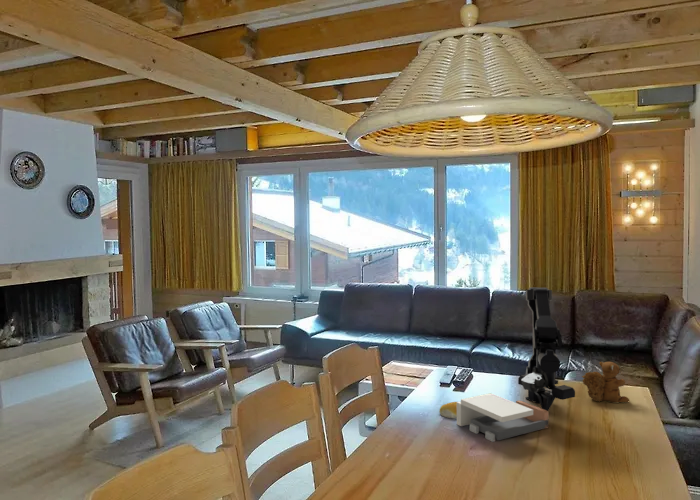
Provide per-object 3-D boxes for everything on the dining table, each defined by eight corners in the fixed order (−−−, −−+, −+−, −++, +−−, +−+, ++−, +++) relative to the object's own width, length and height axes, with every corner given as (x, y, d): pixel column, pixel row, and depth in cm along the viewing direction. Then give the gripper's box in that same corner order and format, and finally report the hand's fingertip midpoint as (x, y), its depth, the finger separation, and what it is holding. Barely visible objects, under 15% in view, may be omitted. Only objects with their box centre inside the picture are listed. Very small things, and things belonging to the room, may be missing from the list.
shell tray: (519, 415, 186) (519, 400, 186) (548, 427, 176) (548, 411, 175) (470, 426, 177) (470, 410, 176) (498, 440, 166) (498, 423, 166)
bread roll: (471, 413, 190) (471, 401, 190) (456, 420, 184) (456, 408, 184) (450, 408, 196) (450, 396, 196) (434, 414, 189) (435, 402, 189)
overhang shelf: (486, 417, 186) (486, 391, 185) (533, 438, 168) (533, 409, 168) (456, 424, 180) (456, 397, 180) (502, 446, 163) (502, 417, 162)
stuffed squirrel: (631, 402, 199) (632, 365, 198) (594, 405, 196) (595, 367, 196) (614, 394, 209) (614, 358, 208) (578, 396, 206) (578, 360, 205)
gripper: (505, 360, 187) (505, 408, 188) (550, 375, 170) (549, 426, 172) (531, 356, 192) (530, 402, 193) (576, 370, 175) (575, 420, 177)
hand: (545, 412), depth 183 cm, fingers closed
